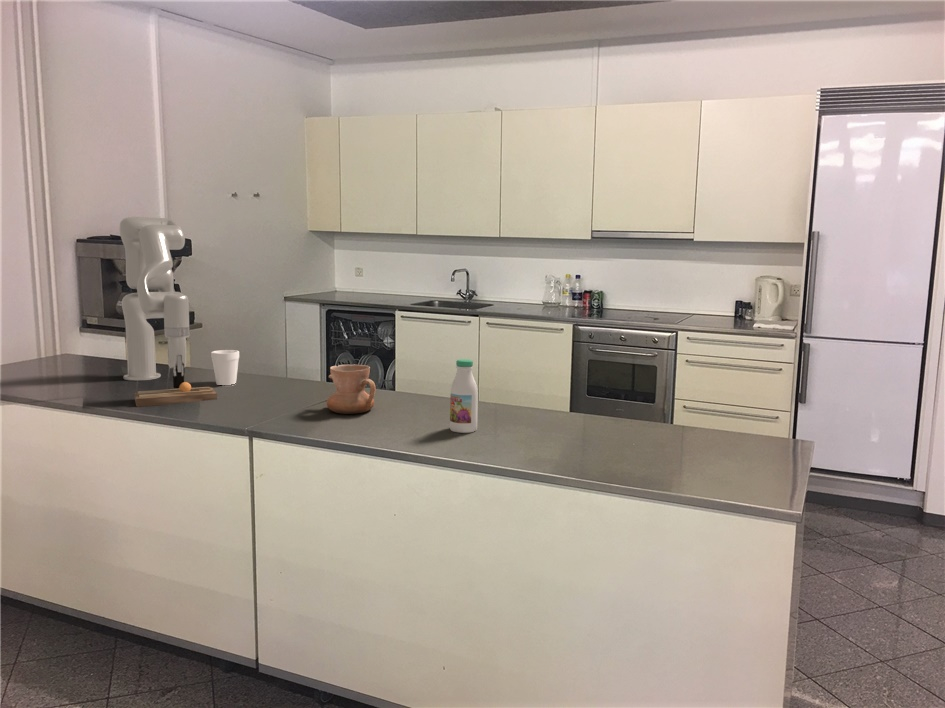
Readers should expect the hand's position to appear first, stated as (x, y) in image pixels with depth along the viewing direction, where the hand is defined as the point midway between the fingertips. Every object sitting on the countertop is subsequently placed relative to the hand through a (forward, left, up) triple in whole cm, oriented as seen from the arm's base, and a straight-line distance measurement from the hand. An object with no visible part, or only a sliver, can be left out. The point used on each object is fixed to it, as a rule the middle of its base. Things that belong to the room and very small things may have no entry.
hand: (178, 387), depth 238 cm
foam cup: (-16, +17, -4) cm, 24 cm away
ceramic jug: (+40, +46, -4) cm, 61 cm away
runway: (+1, -1, -4) cm, 4 cm away
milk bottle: (+74, +68, -4) cm, 101 cm away
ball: (+2, +2, 0) cm, 3 cm away
